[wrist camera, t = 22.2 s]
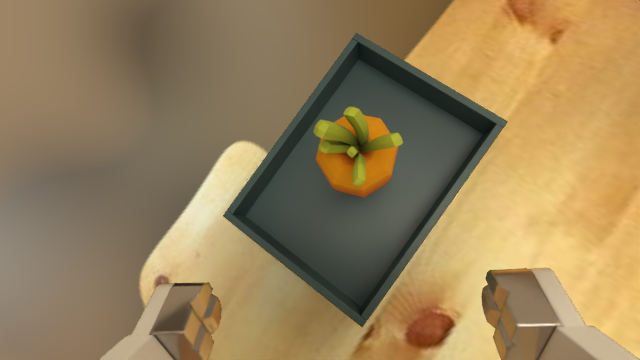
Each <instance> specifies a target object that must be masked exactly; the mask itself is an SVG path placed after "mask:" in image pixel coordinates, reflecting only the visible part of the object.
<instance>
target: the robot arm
mask: <svg viewBox="0 0 640 360" xmlns="http://www.w3.org/2000/svg"><path fill="white" fill-rule="evenodd" d="M486 281H487V283H488V285H487V286H485V287H484V288H483V291H482V306H483V310H484V314H485V317H486V320H487V322H488V323H489V324H491V325H492V326H493V327H494V328H495V332H494V335H493V339H494V342H495V344H496V347H497V350H498V353H499V355H500V358H501V360H640V359H639V358H637V357H636V356H635V355H633V354H632V353H630V352H629V351H628V350H626V349H625V348H623V347H622V346H621V345H619V344H618V343H617V342H615V341H614V340H612V339H611V338H610V337H608V336H607V335H605V334H604V333H603V332H601V331H600V330H598V329H597V328H596V327H594V326H587V325H586V324H585V322H584V320H583V319H582V317H581V316H580V314H579V312H578V311H577V309H576V307H575V306H574V304H573V302H572V301H571V299H570V298H569V296H568V294H567V293H566V291H565V289H564V288H563V286H562V284H561V283H560V281H559V280H558V278H557V276H556V275H555V273H554V272H553V271H552V270H551V269H550V268H535V269H527V268H523V269H506V270H490V271H488V272H487V275H486ZM212 290H213V288H212V287H211V285H210V283H209V282H208V283H167V284H159V285H158V286H157V287H156V288H155V290H154V292H153V294H152V296H151V298H150V300H149V302H148V303H147V305H146V307H145V309H144V311H143V313H142V315H141V317H140V319H139V321H138V323H137V325H136V327H135V329H134V331H133V333H132V335H127V336H125V337H124V338H123V339H122V340H121V341H120V342H119V343H118V344H116V345H115V346H114V347H113V348H112V349H111V350H109V351H108V352H107V353H106V354H105V355H104V356H102V357H101V358H100V359H99V360H208V359H209V356H210V353H211V349H212V346H213V343H214V341H213V339H212V336H211V335H212V334H213V333H214V331H215V330H216V329H217V328H218V327H219V323H220V320H221V304H220V301H219V299H218V297H216V296H215V295H213V294H211V293H212Z"/></svg>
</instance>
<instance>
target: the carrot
mask: <svg viewBox="0 0 640 360" xmlns="http://www.w3.org/2000/svg"><path fill="white" fill-rule="evenodd" d="M343 115H344V116H343V117H342V118H340V119H339V120H337V121H335V122H331V121H326V120H319V122H318V123H317V124H316V125H315V128H314V131H313V133H314V134H315V135H316V136H318V137H320V138H321V140H320V144H319V147H318V152H317V156H316V161H317V163H318V165H319V166H320V168H321V170H322V171H323V173H324V175H325V176H326V178H327V180H328V181H329V183H330V185H331V186H332V187H333V188H334V189H335V190H337V191H339V192H343V193H347V194H351V195H355V196H360V197H366V196H367V195H369V194H371V193H372V192H374V191H376V190H377V189H379V188H381V187H382V186H384V185H386V184H387V183H388V182H389V180H390V179H391V176H392V172H393V167H394V163H395V159H396V155H397V151H398V146H400V145H401V144H402V143H403V141H402V137H401V136H400V135H399V133H390V132H389V130H388V129H387V127H386V126H385V124H384V123H383V121H382V120H381V119H380V118H375V117H370V116H365V115H363V114H362V112H361V111H360V109H358V108H355V107H348V108H347V109H345V111H344V114H343Z"/></svg>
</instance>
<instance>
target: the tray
mask: <svg viewBox="0 0 640 360" xmlns="http://www.w3.org/2000/svg"><path fill="white" fill-rule="evenodd" d="M348 107H355V108H358V109H360V111H361V112H362V114H363V115H365V116H370V117H375V118H380V119H381V120H382V121H383V123H384V124H385V126H386V127H387V129H388V130H389V132H390V133H399V135H400V136H401V137H402V141H403V143H402V144H401V145H400V146H398V151H397V155H396V159H395V163H394V167H393V172H392V176H391V179H390V180H389V182H388V183H387V184H386V185H384V186H382V187H381V188H379V189H377V190H376V191H374V192H372V193H371V194H369V195H367V196H366V197H360V196H355V195H351V194H347V193H343V192H339V191H337V190H335V189H334V188H333V187H332V186H331V185H330V183H329V181H328V180H327V178H326V176H325V175H324V173H323V171H322V170H321V168H320V166H319V165H318V163H317V161H316V156H317V152H318V147H319V144H320V140H321V138H320V137H318V136H316V135H315V134H314V133H313V131H314V128H315V125H316V124H317V123H318V122H319V120H326V121H331V122H335V121H337V120H339V119H340V118H342V117H343V116H344V115H343V114H344V111H345V109H347V108H348ZM506 124H507V121H506V120H504V119H502V118H501V117H499V116H497V115H496V114H494V113H492V112H490V111H489V110H487V109H485V108H484V107H482V106H480V105H478V104H477V103H475V102H473V101H472V100H470V99H468V98H467V97H465V96H463V95H461V94H460V93H458V92H456V91H455V90H453V89H451V88H449V87H448V86H446V85H444V84H443V83H441V82H439V81H438V80H436V79H434V78H432V77H431V76H429V75H427V74H426V73H424V72H422V71H420V70H419V69H417V68H415V67H414V66H412V65H410V64H409V63H407V62H405V61H403V60H402V59H400V58H398V57H396V56H395V55H393V54H391V53H390V52H388V51H386V50H385V49H383V48H381V47H380V46H378V45H376V44H374V43H373V42H371V41H369V40H367V39H366V38H364V37H362V36H361V35H359V34H357V33H356V34H355V35H354V37H353V38H352V40H351V41H350V42H349V44H348V45H347V46H346V48H345V49H344V51H343V52H342V53H341V55H340V56H339V57H338V59H337V60H336V62H335V63H334V65H333V66H332V67H331V69H330V70H329V71H328V72H327V74H326V75H325V77H324V78H323V79H322V81H321V82H320V83H319V85H318V86H317V88H316V89H315V90H314V92H313V93H312V94H311V96H310V97H309V99H308V100H307V101H306V103H305V104H304V105H303V107H302V108H301V110H300V111H299V112H298V114H297V115H296V117H295V118H294V119H293V121H292V122H291V123H290V125H289V126H288V127H287V129H286V130H285V132H284V133H283V134H282V136H281V137H280V138H279V140H278V141H277V142H276V144H275V145H274V146H273V148H272V149H271V151H270V152H269V153H268V155H267V156H266V157H265V159H264V160H263V162H262V163H261V164H260V166H259V167H258V168H257V170H256V171H255V173H254V174H253V175H252V177H251V178H250V179H249V181H248V182H247V183H246V185H245V186H244V188H243V189H242V190H241V192H240V193H239V194H238V196H237V197H236V199H235V200H234V201H233V203H232V204H231V205H230V207H229V208H228V211H226V212H225V214H224V215H223V216H224V217H225V218H226V219H227V220H229V221H230V222H231V223H232V224H234V225H235V226H236V227H237V228H239V229H240V230H241V231H242V232H244V233H245V234H246V235H247V236H249V237H250V238H251V239H252V240H254V241H255V242H256V243H257V244H259V245H260V246H261V247H262V248H264V249H265V250H266V251H267V252H269V253H270V254H271V255H272V256H274V257H275V258H276V259H277V260H279V261H280V262H281V263H282V264H284V265H285V266H286V267H287V268H289V269H290V270H291V271H292V272H294V273H295V274H296V275H297V276H299V277H300V278H301V279H302V280H304V281H305V282H306V283H307V284H309V285H310V286H311V287H312V288H314V289H315V290H316V291H317V292H319V293H320V294H321V295H322V296H324V297H325V298H326V299H327V300H329V301H330V302H331V303H332V304H334V305H335V306H336V307H337V308H339V309H340V310H341V311H342V312H344V313H345V314H346V315H347V316H349V317H350V318H351V319H353V320H354V321H355V322H356V323H358V324H359V325H360V326H361V327H363V326H364V324H365V323H366V321H367V320H368V319H369V317H370V316H371V314H372V313H373V312H374V310H375V309H376V307H377V306H378V305H379V303H380V302H381V300H382V299H383V298H384V296H385V295H386V293H387V292H388V290H389V289H390V288H391V286H392V285H393V283H394V282H395V281H396V279H397V278H398V276H399V275H400V273H401V272H402V271H403V269H404V268H405V266H406V265H407V264H408V262H409V261H410V259H411V258H412V256H413V255H414V254H415V252H416V251H417V249H418V248H419V247H420V245H421V244H422V242H423V241H424V240H425V238H426V237H427V235H428V234H429V232H430V231H431V230H432V228H433V227H434V225H435V224H436V223H437V221H438V220H439V218H440V217H441V215H442V214H443V213H444V211H445V210H446V208H447V207H448V206H449V204H450V203H451V201H452V200H453V198H454V197H455V196H456V194H457V193H458V191H459V190H460V189H461V187H462V186H463V184H464V183H465V181H466V180H467V179H468V177H469V176H470V174H471V173H472V172H473V170H474V169H475V167H476V166H477V165H478V163H479V162H480V160H481V159H482V157H483V156H484V155H485V153H486V152H487V150H488V149H489V148H490V146H491V145H492V143H493V142H494V140H495V139H496V138H497V136H498V135H499V133H500V132H501V131H502V129H503V128H504V126H505V125H506Z"/></svg>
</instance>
